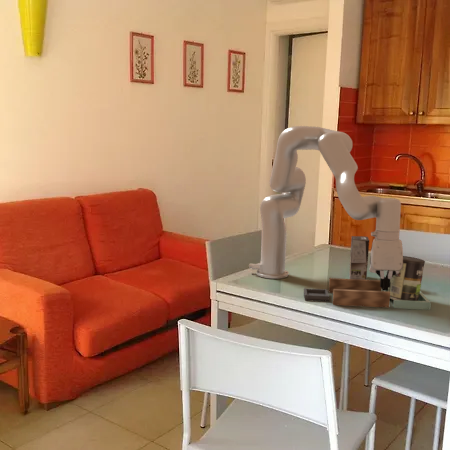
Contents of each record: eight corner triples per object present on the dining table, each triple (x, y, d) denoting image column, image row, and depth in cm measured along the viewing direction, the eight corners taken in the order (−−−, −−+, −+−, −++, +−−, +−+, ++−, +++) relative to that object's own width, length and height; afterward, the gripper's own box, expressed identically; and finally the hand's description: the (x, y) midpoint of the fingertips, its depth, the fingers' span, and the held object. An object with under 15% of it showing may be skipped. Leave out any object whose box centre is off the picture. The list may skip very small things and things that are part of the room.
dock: (393, 307, 178) (394, 300, 178) (384, 294, 193) (385, 287, 193) (430, 309, 177) (430, 302, 177) (418, 295, 192) (418, 289, 192)
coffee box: (366, 282, 208) (369, 240, 205) (349, 281, 209) (352, 239, 206) (365, 276, 216) (368, 236, 214) (349, 275, 218) (351, 235, 215)
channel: (333, 304, 180) (333, 290, 179) (328, 291, 195) (329, 278, 194) (389, 307, 178) (390, 292, 178) (380, 294, 193) (381, 280, 192)
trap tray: (304, 300, 184) (305, 295, 184) (303, 293, 192) (303, 288, 192) (329, 301, 183) (329, 296, 183) (326, 294, 191) (327, 289, 191)
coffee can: (421, 299, 188) (427, 259, 187) (415, 305, 180) (421, 263, 178) (391, 293, 193) (397, 254, 192) (383, 298, 185) (389, 257, 183)
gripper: (365, 237, 178) (363, 291, 181) (413, 238, 177) (410, 293, 180) (362, 233, 186) (360, 285, 188) (408, 234, 184) (405, 287, 187)
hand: (384, 289), depth 184 cm, fingers closed
